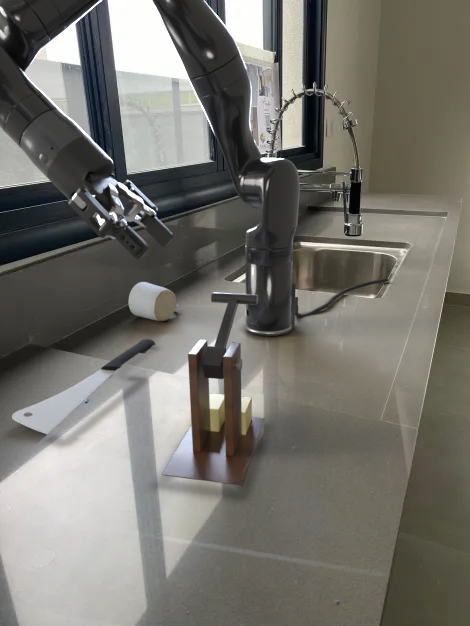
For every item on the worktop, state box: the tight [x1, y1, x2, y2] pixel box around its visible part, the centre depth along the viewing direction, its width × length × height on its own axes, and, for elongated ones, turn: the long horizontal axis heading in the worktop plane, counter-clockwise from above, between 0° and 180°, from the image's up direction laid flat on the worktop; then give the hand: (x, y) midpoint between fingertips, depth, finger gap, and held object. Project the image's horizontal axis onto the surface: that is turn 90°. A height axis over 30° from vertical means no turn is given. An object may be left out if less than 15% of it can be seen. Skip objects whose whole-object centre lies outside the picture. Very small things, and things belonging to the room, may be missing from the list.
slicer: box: [161, 339, 265, 486], centre depth 58 cm, size 14×9×14 cm, turn 167°
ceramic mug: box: [128, 281, 181, 322], centre depth 109 cm, size 11×8×8 cm
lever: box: [202, 291, 258, 380], centre depth 60 cm, size 13×6×2 cm, turn 167°
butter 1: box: [209, 392, 225, 432], centre depth 64 cm, size 4×2×3 cm, turn 167°
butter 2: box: [241, 395, 253, 435], centre depth 63 cm, size 4×2×3 cm, turn 167°
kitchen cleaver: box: [11, 338, 156, 435], centre depth 78 cm, size 31×2×10 cm
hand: (157, 247), depth 65 cm, fingers open, 8 cm apart
